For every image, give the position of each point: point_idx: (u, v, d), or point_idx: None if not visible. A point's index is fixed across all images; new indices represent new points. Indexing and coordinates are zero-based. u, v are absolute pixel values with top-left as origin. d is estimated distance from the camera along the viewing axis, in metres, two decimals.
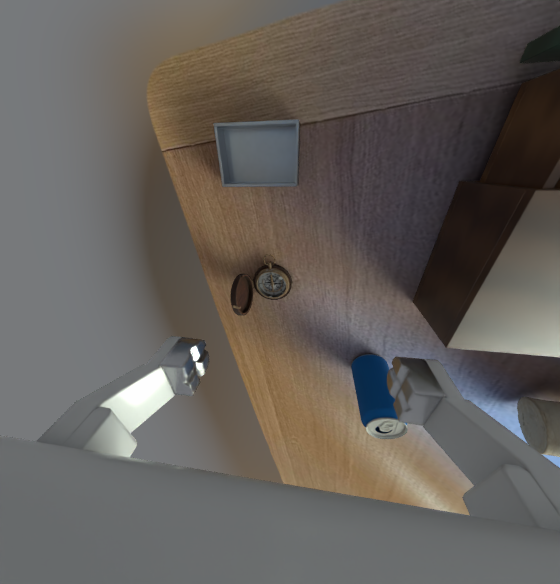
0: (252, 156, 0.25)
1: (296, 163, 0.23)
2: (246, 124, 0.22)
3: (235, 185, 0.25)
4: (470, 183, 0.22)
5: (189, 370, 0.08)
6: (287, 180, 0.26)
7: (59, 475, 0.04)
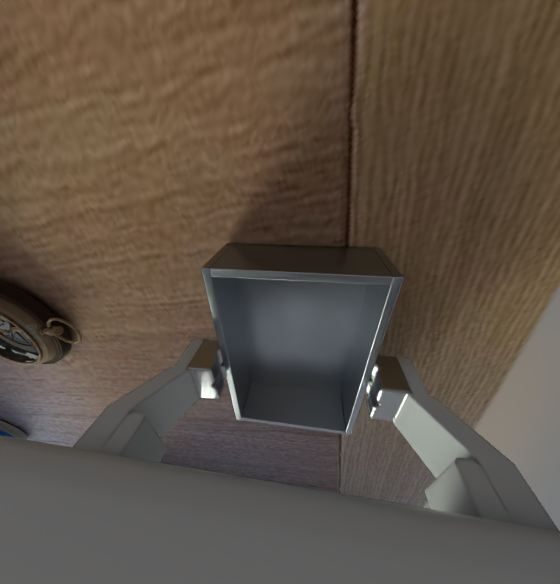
0: (298, 318, 0.10)
1: (277, 424, 0.11)
2: (368, 362, 0.08)
3: (213, 310, 0.07)
4: None
5: (216, 373, 0.08)
6: (253, 371, 0.12)
7: (59, 475, 0.04)
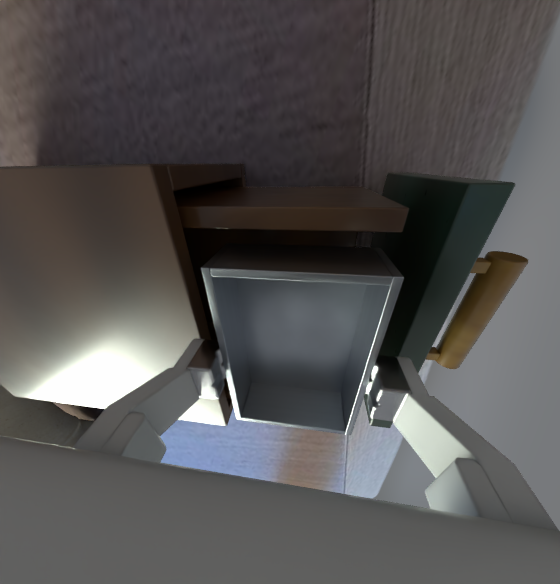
0: (298, 318, 0.10)
1: (277, 424, 0.11)
2: (368, 361, 0.08)
3: (213, 310, 0.07)
4: None
5: (216, 373, 0.08)
6: (253, 371, 0.12)
7: (59, 475, 0.04)
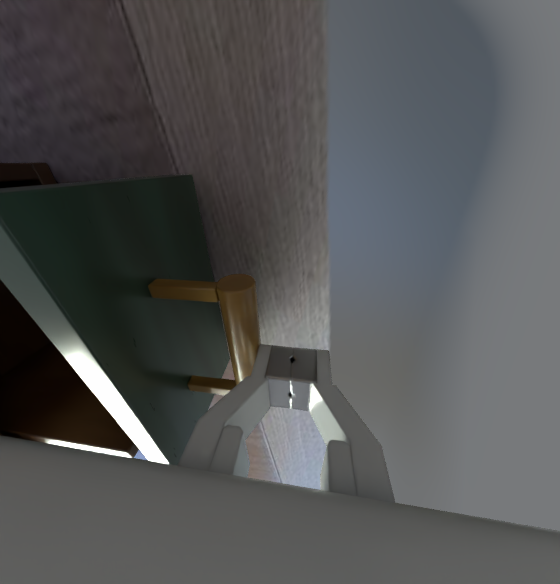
0: None
1: None
2: None
3: None
4: None
5: None
6: None
7: (59, 475, 0.04)
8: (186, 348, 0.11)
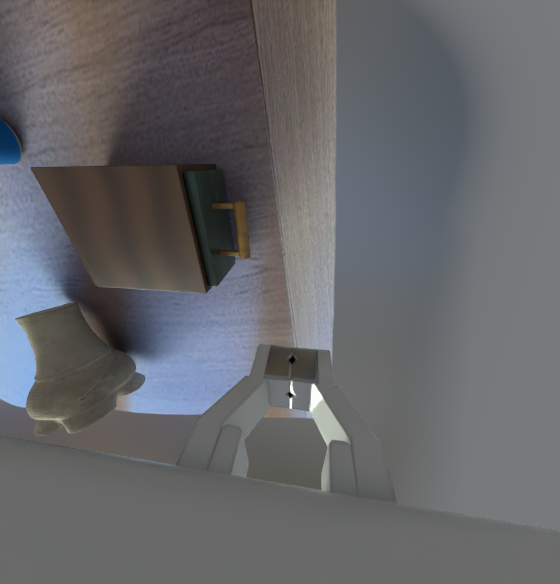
0: None
1: None
2: None
3: None
4: (208, 164, 0.26)
5: None
6: None
7: (59, 475, 0.04)
8: (219, 236, 0.28)
